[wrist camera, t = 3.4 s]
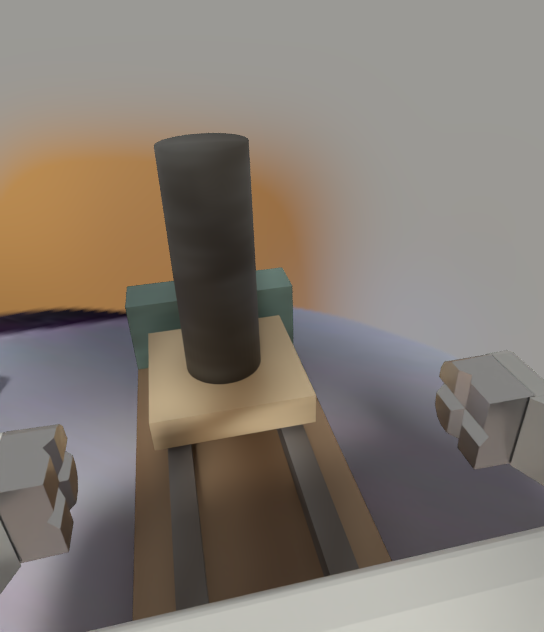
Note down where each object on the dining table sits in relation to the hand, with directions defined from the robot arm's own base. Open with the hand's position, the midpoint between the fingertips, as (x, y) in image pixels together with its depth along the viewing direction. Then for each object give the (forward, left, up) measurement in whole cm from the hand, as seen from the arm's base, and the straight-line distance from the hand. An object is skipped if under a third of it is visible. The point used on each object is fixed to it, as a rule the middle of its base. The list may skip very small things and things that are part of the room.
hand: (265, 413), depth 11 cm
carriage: (0, +11, -8) cm, 14 cm away
